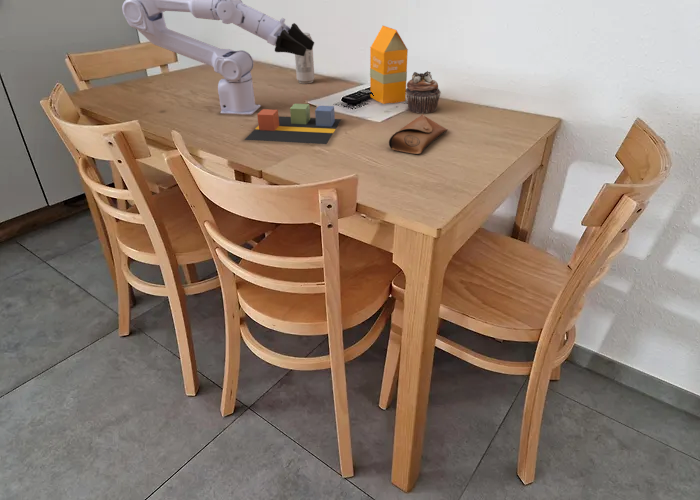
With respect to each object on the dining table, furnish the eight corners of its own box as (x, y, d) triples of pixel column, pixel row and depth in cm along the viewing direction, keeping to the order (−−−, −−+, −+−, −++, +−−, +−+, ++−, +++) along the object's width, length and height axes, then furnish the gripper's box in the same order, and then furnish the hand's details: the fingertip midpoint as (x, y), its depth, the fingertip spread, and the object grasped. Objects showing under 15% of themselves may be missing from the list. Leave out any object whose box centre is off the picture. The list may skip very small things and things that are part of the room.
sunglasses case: (421, 153, 112) (409, 127, 110) (397, 163, 116) (384, 138, 115) (449, 129, 125) (438, 104, 123) (426, 138, 129) (415, 115, 127)
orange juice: (382, 104, 144) (383, 31, 133) (369, 97, 151) (369, 26, 139) (406, 101, 146) (409, 28, 135) (392, 93, 153) (394, 23, 142)
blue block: (315, 126, 129) (314, 110, 127) (319, 120, 133) (318, 105, 130) (331, 126, 128) (330, 111, 126) (334, 121, 132) (334, 105, 130)
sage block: (291, 123, 131) (289, 108, 129) (295, 118, 134) (294, 103, 132) (306, 124, 130) (305, 109, 128) (310, 119, 134) (309, 104, 131)
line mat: (244, 140, 122) (244, 139, 122) (268, 117, 137) (267, 115, 137) (326, 145, 119) (326, 144, 119) (341, 120, 133) (341, 119, 133)
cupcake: (411, 115, 135) (413, 78, 130) (401, 105, 143) (402, 69, 138) (444, 112, 137) (447, 75, 131) (432, 102, 145) (435, 67, 139)
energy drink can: (316, 79, 168) (314, 32, 160) (311, 84, 163) (308, 36, 155) (300, 78, 170) (296, 32, 161) (294, 83, 165) (290, 35, 156)
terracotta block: (259, 130, 128) (257, 114, 125) (264, 124, 131) (262, 109, 129) (274, 130, 127) (272, 115, 125) (279, 125, 130) (277, 109, 128)
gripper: (256, 14, 120) (306, 39, 121) (275, 6, 132) (321, 29, 132) (248, 42, 124) (297, 66, 125) (267, 32, 136) (312, 54, 137)
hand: (309, 49), depth 129 cm, fingers open, 7 cm apart
